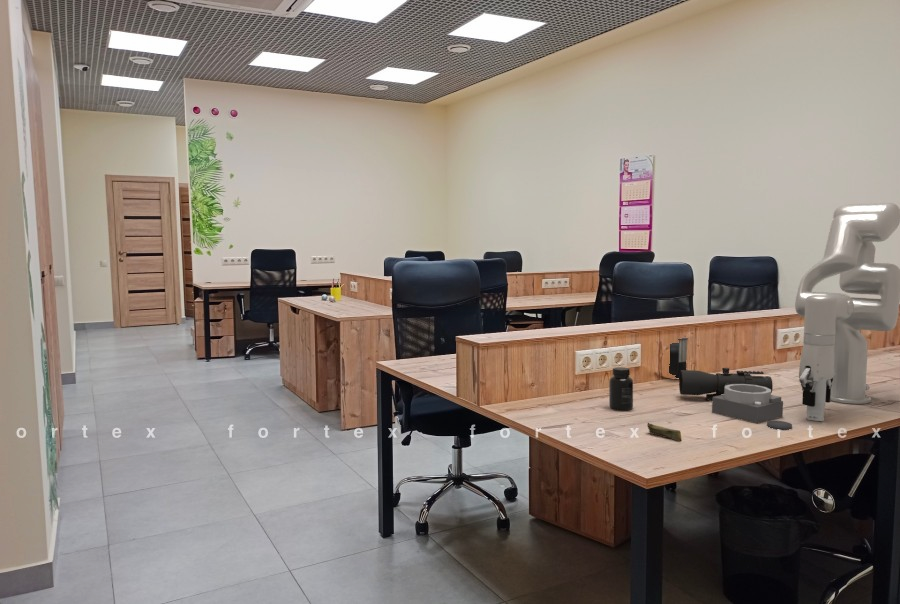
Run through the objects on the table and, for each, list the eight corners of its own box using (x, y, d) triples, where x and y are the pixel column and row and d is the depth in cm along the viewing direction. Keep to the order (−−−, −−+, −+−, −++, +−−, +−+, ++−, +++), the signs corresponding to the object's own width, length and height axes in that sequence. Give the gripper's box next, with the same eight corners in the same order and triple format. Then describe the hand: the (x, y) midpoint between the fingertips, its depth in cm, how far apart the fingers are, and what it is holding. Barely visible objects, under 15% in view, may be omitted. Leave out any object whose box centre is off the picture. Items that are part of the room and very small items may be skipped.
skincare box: (823, 422, 178) (826, 378, 177) (806, 419, 180) (808, 377, 179) (825, 416, 183) (827, 374, 182) (807, 414, 185) (809, 373, 184)
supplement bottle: (633, 406, 196) (634, 367, 195) (632, 412, 190) (632, 371, 189) (610, 404, 198) (610, 365, 197) (607, 410, 192) (608, 370, 191)
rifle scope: (774, 405, 195) (775, 373, 194) (682, 402, 201) (683, 370, 200) (765, 397, 206) (766, 366, 205) (678, 394, 211) (678, 363, 210)
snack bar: (682, 441, 162) (682, 430, 162) (678, 442, 161) (678, 431, 161) (649, 432, 170) (649, 421, 170) (645, 434, 169) (645, 422, 169)
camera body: (737, 406, 195) (737, 381, 194) (782, 416, 183) (783, 390, 183) (712, 412, 189) (712, 386, 188) (757, 423, 177) (758, 396, 176)
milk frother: (657, 374, 242) (658, 334, 240) (700, 374, 241) (701, 334, 240) (668, 383, 228) (669, 340, 226) (714, 383, 227) (715, 340, 226)
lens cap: (774, 423, 178) (775, 419, 178) (796, 428, 173) (796, 424, 173) (762, 427, 175) (762, 422, 175) (783, 432, 170) (783, 428, 170)
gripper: (822, 335, 187) (819, 396, 189) (787, 341, 178) (785, 405, 180) (849, 338, 181) (846, 401, 183) (815, 344, 172) (812, 411, 173)
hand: (816, 403), depth 181 cm, fingers closed on skincare box, 7 cm apart
